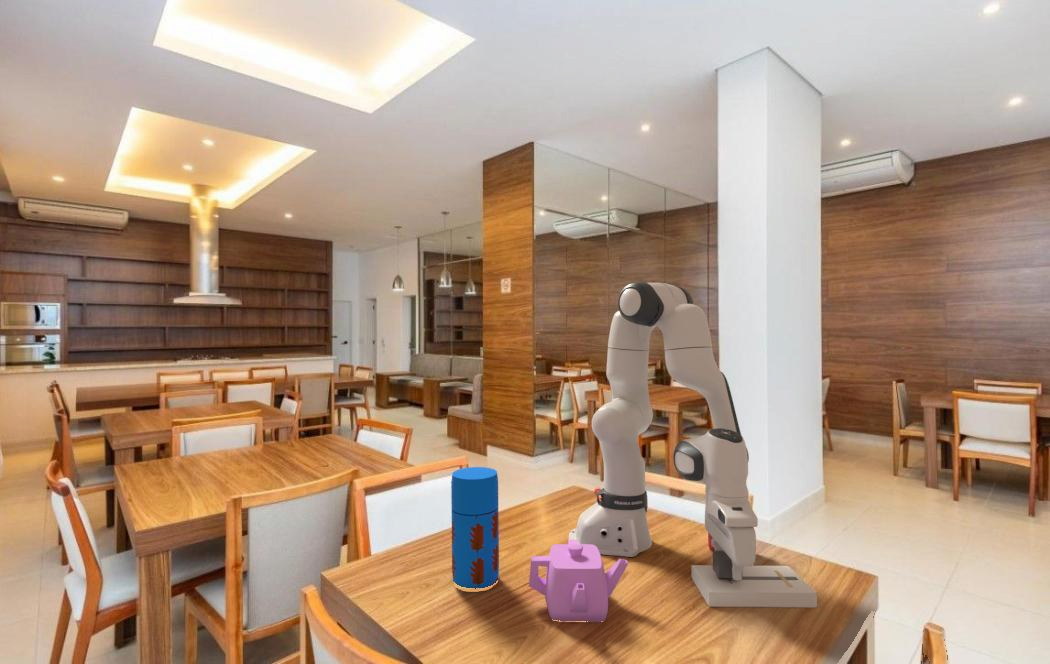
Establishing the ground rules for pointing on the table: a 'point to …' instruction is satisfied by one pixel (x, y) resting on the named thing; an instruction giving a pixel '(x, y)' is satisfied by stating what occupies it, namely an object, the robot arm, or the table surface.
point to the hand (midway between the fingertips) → (727, 568)
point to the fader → (722, 564)
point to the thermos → (475, 527)
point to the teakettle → (575, 582)
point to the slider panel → (754, 588)
